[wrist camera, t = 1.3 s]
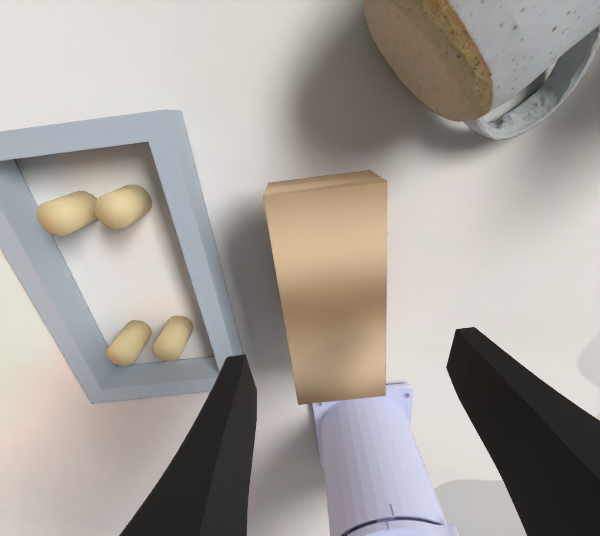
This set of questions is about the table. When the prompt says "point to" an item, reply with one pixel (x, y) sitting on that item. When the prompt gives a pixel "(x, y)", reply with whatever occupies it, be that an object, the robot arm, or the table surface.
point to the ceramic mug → (486, 54)
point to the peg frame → (117, 215)
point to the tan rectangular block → (332, 282)
